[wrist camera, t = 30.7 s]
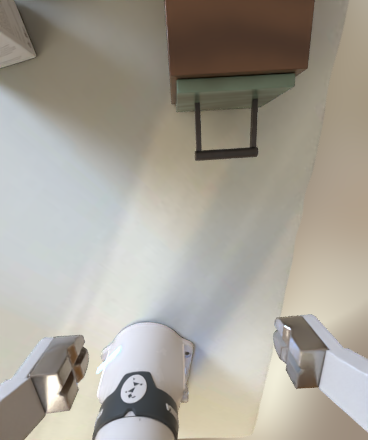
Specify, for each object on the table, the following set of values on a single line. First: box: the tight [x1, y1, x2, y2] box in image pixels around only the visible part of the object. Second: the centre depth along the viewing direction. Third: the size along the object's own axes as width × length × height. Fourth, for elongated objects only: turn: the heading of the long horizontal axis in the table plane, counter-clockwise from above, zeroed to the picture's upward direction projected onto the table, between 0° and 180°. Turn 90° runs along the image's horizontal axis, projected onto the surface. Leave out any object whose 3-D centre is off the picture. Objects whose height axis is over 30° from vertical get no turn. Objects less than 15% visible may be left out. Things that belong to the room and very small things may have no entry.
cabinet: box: [164, 0, 315, 104], centre depth 21 cm, size 15×13×10 cm
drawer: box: [176, 73, 295, 161], centre depth 23 cm, size 20×12×8 cm, turn 4°
